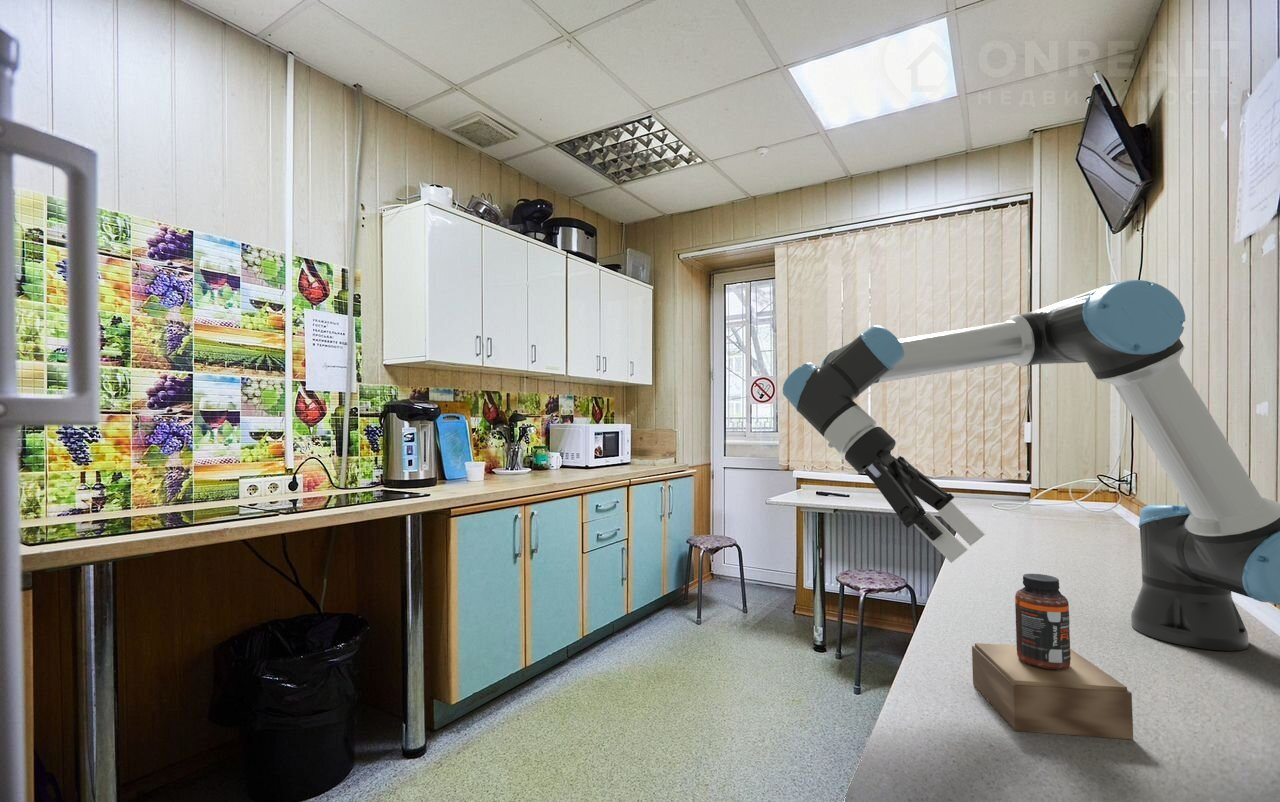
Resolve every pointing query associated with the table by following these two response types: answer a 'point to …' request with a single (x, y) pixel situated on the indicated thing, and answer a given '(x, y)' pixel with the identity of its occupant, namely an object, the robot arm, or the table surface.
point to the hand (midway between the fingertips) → (969, 548)
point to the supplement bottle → (1042, 623)
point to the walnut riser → (1052, 694)
